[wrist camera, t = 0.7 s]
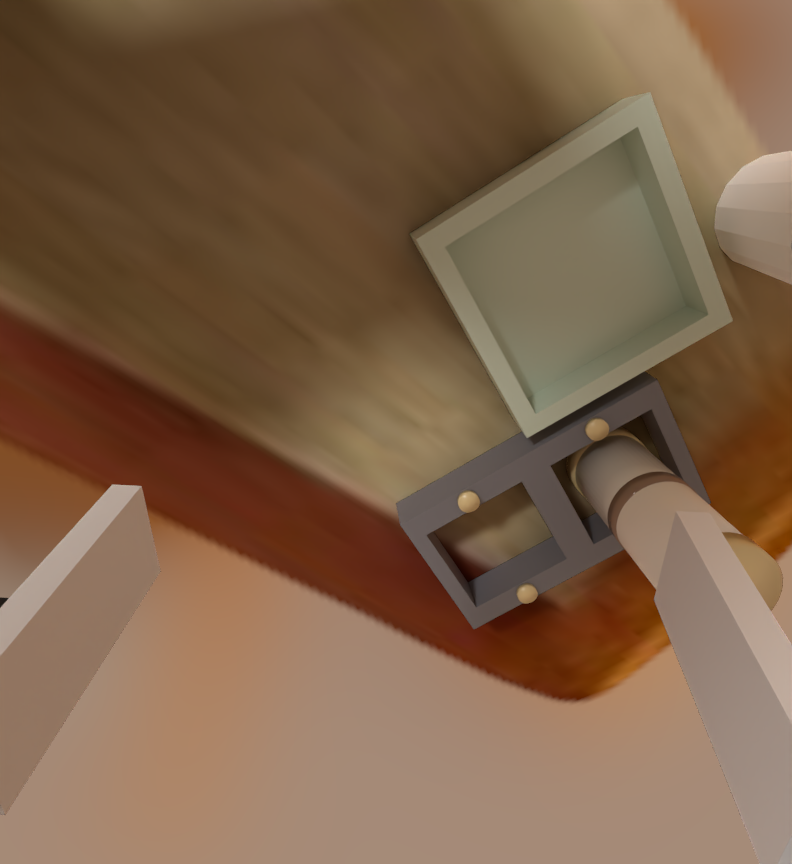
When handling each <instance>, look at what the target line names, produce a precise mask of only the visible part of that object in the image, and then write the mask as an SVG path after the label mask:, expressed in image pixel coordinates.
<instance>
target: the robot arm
mask: <svg viewBox="0 0 792 864" xmlns="http://www.w3.org/2000/svg"><path fill="white" fill-rule="evenodd" d="M159 573H160V566H159V562H158V558H157V553H156V549H155V544H154V540H153V535H152V531H151V526H150V522H149V517H148V513H147V508H146V504H145V500H144V495H143V491H142V486H130V485H112V486H111V487H110V488H109V489H108V490H107V491H106V492H105V493H104V494H103V496H102V497H101V498H100V499H99V500H98V501H97V502H96V503H95V504H94V505H93V507H92V508H91V509H90V510H89V511H88V512H87V513H86V514H85V515H84V516H83V518H82V519H81V520H80V521H79V522H78V523H77V524H76V525H75V526H74V528H72V530H71V531H70V532H69V533H68V534H67V535H66V536H65V537H64V538H63V540H62V541H61V542H60V543H59V544H58V545H57V546H56V547H55V548H54V550H53V551H52V552H51V553H50V554H49V555H48V556H47V557H46V558H45V559H44V560H43V561H42V563H41V564H40V565H39V566H38V567H37V568H36V569H35V570H34V571H33V572H32V574H31V575H30V576H29V577H28V578H27V579H26V580H25V581H24V582H23V583H22V585H21V586H20V587H19V588H18V589H17V590H16V591H15V592H14V593H13V594H12V596H11V597H10V598H0V814H1V815H6V814H7V812H8V810H9V809H10V807H11V805H12V804H13V803H14V801H15V799H16V798H17V796H18V795H19V793H20V791H21V790H22V788H23V787H24V785H25V784H26V782H27V781H28V779H29V777H30V776H31V774H32V773H33V771H34V770H35V768H36V766H37V765H38V763H39V762H40V760H41V759H42V757H43V755H44V754H45V752H46V751H47V749H48V748H49V746H50V744H51V743H52V741H53V740H54V738H55V736H56V735H57V733H58V732H59V730H60V728H61V727H62V726H63V724H64V722H65V721H66V719H67V717H68V716H69V714H70V713H71V711H72V710H73V708H74V707H75V705H76V703H77V702H78V700H79V699H80V697H81V696H82V694H83V693H84V691H85V689H86V688H87V686H88V685H89V683H90V681H91V680H92V678H93V677H94V675H95V674H96V672H97V671H98V669H99V667H100V666H101V664H102V662H103V661H104V659H105V658H106V656H107V655H108V653H109V652H110V650H111V648H112V647H113V645H114V644H115V642H116V641H117V639H118V638H119V636H120V634H121V633H122V631H123V630H124V628H125V626H126V625H127V623H128V622H129V620H130V619H131V617H132V616H133V614H134V612H135V611H136V609H137V608H138V606H139V605H140V603H141V601H142V600H143V598H144V597H145V595H146V594H147V592H148V590H149V589H150V587H151V586H152V584H153V582H154V581H155V579H156V578H157V576H158V574H159ZM654 601H655V604H656V606H657V609H658V611H659V614H660V616H661V619H662V621H663V624H664V626H665V629H666V631H667V634H668V636H669V639H670V641H671V644H672V646H673V649H674V651H675V654H676V656H677V659H678V661H679V664H680V666H681V669H682V671H683V674H684V676H685V679H686V681H687V684H688V686H689V689H690V691H691V694H692V696H693V699H694V701H695V704H696V706H697V709H698V711H699V713H700V716H701V719H702V721H703V724H704V726H705V729H706V731H707V734H708V736H709V738H710V741H711V743H712V746H713V748H714V751H715V753H716V756H717V758H718V761H719V763H720V766H721V768H722V771H723V773H724V776H725V778H726V781H727V783H728V786H729V788H730V791H731V793H732V796H733V798H734V801H735V803H736V805H737V808H738V811H739V813H740V816H741V818H742V821H743V823H744V826H745V828H746V831H747V833H748V836H749V838H750V841H751V843H752V845H753V848H754V850H755V853H756V855H757V858H758V860H759V863H760V864H792V644H791V643H790V641H789V639H788V638H787V636H786V635H785V633H784V631H783V630H782V628H781V627H780V625H779V623H778V622H777V620H776V619H775V617H774V615H773V614H772V612H771V610H770V609H769V607H768V606H767V604H766V602H765V601H764V599H763V598H762V596H761V594H760V593H759V591H758V590H757V588H756V586H755V585H754V583H753V582H752V580H751V578H750V577H749V575H748V574H747V572H746V570H745V569H744V567H743V566H742V564H741V562H740V561H739V559H738V558H737V556H736V554H735V553H734V551H733V550H732V548H731V546H730V545H729V543H728V542H727V540H726V538H725V537H724V535H723V534H722V532H721V530H720V529H719V527H718V526H717V524H716V522H715V521H714V519H713V518H712V516H711V514H710V513H706V512H685V511H676V513H675V517H674V521H673V525H672V529H671V533H670V537H669V541H668V545H667V549H666V553H665V557H664V561H663V565H662V569H661V573H660V577H659V581H658V585H657V589H656V593H655V597H654Z"/></svg>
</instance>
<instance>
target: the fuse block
mask: <svg viewBox="0 0 792 864" xmlns="http://www.w3.org/2000/svg"><path fill="white" fill-rule="evenodd" d="M640 415H641V416H642V418H643V421H644V423H645V425H646V427H647V429H648V431H649V434H650V436H651V438H652V440H653V442H654V444H655V447H656V449H657V451H658V453H659V455H660V458H661V460H662V462H663V464H664V465H665V466H666V467H667V468H669V469H670V470H671V471H672V472H673V473H674V474H675V475H677V476H678V477H680V478H681V479H682V480H684V481H685V482H686V483H687V484H688V485H689V486H690V487H691V488H692V489H694V490H695V491H696V493H697V494H698V495H699V496H700V497H701V498H702V499H703V500H704V501H706V502H707V503H708V504H710V503H711V502H710V499H709V497H708V495H707V492H706V490H705V488H704V485H703V483H702V481H701V479H700V476H699V474H698V472H697V469H696V467H695V465H694V462H693V460H692V458H691V456H690V453H689V451H688V449H687V446H686V444H685V442H684V440H683V437H682V435H681V433H680V430H679V428H678V426H677V423H676V421H675V419H674V417H673V414H672V412H671V410H670V407H669V405H668V403H667V400H666V398H665V396H664V394H663V391H662V389H661V387H660V384H659V382H658V380H657V379H655V378H654V377H652V376H651V375H649V374H648V373H646V372H645V371H644V372H642V373H641V374H639V375H637V376H635V377H634V378H632V379H630V380H628V381H627V382H625V383H623V384H621V385H620V386H618V387H616V388H614V389H613V390H611V391H609V392H607V393H606V394H604V395H602V396H600V397H599V398H597V399H595V400H593V401H591V402H590V403H588V404H586V405H584V406H583V407H581V408H579V409H577V410H576V411H574V412H572V413H570V414H569V415H567V416H565V417H563V418H562V419H560V420H558V421H556V422H555V423H553V424H551V425H549V426H548V427H546V428H544V429H542V430H541V431H539V432H537V433H535V434H534V435H532V436H530V437H528V438H526V436H525V435H524V433H523V432H520V433H519V434H517V435H515V436H513V437H512V438H510V439H508V440H506V441H505V442H503V443H501V444H499V445H498V446H496V447H494V448H492V449H491V450H489V451H487V452H485V453H484V454H482V455H480V456H478V457H477V458H475V459H473V460H471V461H470V462H468V463H466V464H464V465H463V466H461V467H459V468H457V469H456V470H454V471H452V472H450V473H449V474H447V475H445V476H443V477H442V478H440V479H438V480H436V481H435V482H433V483H431V484H429V485H428V486H426V487H424V488H422V489H421V490H419V491H417V492H415V493H414V494H412V495H410V496H408V497H407V498H405V499H403V500H401V501H400V502H398V503H396V505H397V510H398V516H399V521H400V525H401V527H402V528H403V530H404V531H405V533H406V534H407V535H408V537H409V538H410V540H411V541H412V542H413V544H414V545H415V547H416V548H417V550H418V551H419V552H420V554H421V555H422V557H423V558H424V559H425V561H426V562H427V564H428V565H429V566H430V568H431V569H432V571H433V572H434V574H435V575H436V576H437V578H438V579H439V581H440V582H441V583H442V585H443V586H444V588H445V589H446V591H447V592H448V593H449V595H450V596H451V598H452V599H453V600H454V602H455V603H456V605H457V606H458V608H459V609H460V610H461V612H462V613H463V615H464V616H465V617H466V619H467V620H468V622H469V623H470V624H471V626H472V627H473V629H476V628H478V627H479V626H481V625H483V624H485V623H487V622H489V621H491V620H493V619H494V618H496V617H498V616H500V615H502V614H504V613H506V612H508V611H509V610H511V609H513V608H515V607H517V606H519V605H521V604H523V603H525V604H528V603H531V602H533V601H535V600H536V598H537V596H538V595H540V594H541V593H543V592H545V591H547V590H549V589H551V588H553V587H555V586H556V585H558V584H560V583H562V582H564V581H566V580H568V579H570V578H571V577H573V576H575V575H577V574H579V573H581V572H583V571H585V570H586V569H588V568H590V567H592V566H594V565H596V564H598V563H600V562H601V561H603V560H605V559H607V558H609V557H611V556H613V555H615V554H617V553H618V552H620V551H622V550H624V548H623V547H622V546H621V545H620V544H619V542H618V541H617V540H616V538H615V537H614V536H613V534H612V533H611V531H610V529H609V528H608V526H607V525H606V524H605V522H604V521H603V520H602V519H601V517H600V516H599V515H598V513H595V514H593V515H591V516H589V517H588V518H586V519H584V520H582V521H581V520H580V519H579V517H578V515H577V513H576V511H575V509H574V508H573V506H572V504H571V502H570V500H569V499H568V497H567V495H566V493H565V491H564V490H563V488H562V486H561V484H560V482H559V480H558V479H557V477H556V475H555V473H554V471H553V470H552V468H551V465H553V464H554V463H556V462H558V461H560V460H561V459H563V458H565V457H567V456H569V455H570V454H572V453H574V452H576V451H577V450H579V449H581V448H583V447H585V446H586V445H588V444H590V443H592V442H594V441H599V440H602V439H604V438H605V437H606V436H607V434H608V433H610V432H611V431H613V430H615V429H617V428H619V427H620V426H622V425H624V424H626V423H627V422H629V421H631V420H633V419H635V418H636V417H638V416H640ZM520 482H522V484H523V485H524V487H525V489H526V491H527V492H528V494H529V496H530V497H531V499H532V501H533V503H534V504H535V506H536V508H537V509H538V511H539V513H540V515H541V516H542V518H543V520H544V521H545V523H546V525H547V527H548V528H549V530H550V532H551V533H552V535H553V537H551V538H549V539H547V540H545V541H543V542H542V543H540V544H538V545H536V546H534V547H532V548H531V549H529V550H527V551H525V552H523V553H521V554H520V555H518V556H516V557H514V558H512V559H510V560H509V561H507V562H505V563H503V564H501V565H499V566H497V567H496V568H494V569H492V570H490V571H488V572H486V573H485V574H483V575H481V576H479V577H477V578H475V579H474V580H472V581H470V582H467V580H466V579H465V577H464V576H463V575H462V573H461V572H460V570H459V569H458V567H457V566H456V564H455V563H454V561H453V560H452V558H451V557H450V555H449V554H448V553H447V551H446V550H445V548H444V547H443V545H442V544H441V542H440V541H439V539H438V538H437V536H436V535H435V533H434V532H433V531H435V530H436V529H438V528H440V527H442V526H444V525H445V524H447V523H449V522H451V521H453V520H454V519H456V518H458V517H460V516H461V515H463V514H465V513H470V512H473V511H475V510H476V509H477V508H478V507H479V505H481V504H483V503H485V502H486V501H488V500H490V499H492V498H494V497H495V496H497V495H499V494H501V493H503V492H504V491H506V490H508V489H510V488H511V487H513V486H515V485H517V484H519V483H520Z"/></svg>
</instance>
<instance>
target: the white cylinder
mask: <svg viewBox="0 0 792 864" xmlns="http://www.w3.org/2000/svg"><path fill="white" fill-rule="evenodd" d="M714 230H715V233H716V237H717V240H718V243H719V247H720V248H721V249H722V250H723V251H724V253H725V254H726V255H727V256H728V257H729V258H730V259H731V260H732V261H734V262H737V263H739V264H742V265H744V266H747V267H749V268H752V269H754V270H756V271H759V272H761V273H764V274H766V275H769V276H771V277H774V278H776V279H779V280H781V281H784V282H786V283H789V284H791V285H792V151H787V152H782V153H776V154H770V155H765V156H762V157H760V158H758V159H756V160H754V161H752V162H751V163H749V164H747V165H745V166H743V167H742V168H741V169H740V170H739V171H738V172H737V174H736V175H735V176H734V177H733V178H732V179H731V180H730V181H729V182H728V183H727V185H726V186H725V189H724V191H723V193H722V195H721V197H720V200H719V202H718V204H717V206H716V215H715V225H714Z"/></svg>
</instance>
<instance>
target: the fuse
mask: <svg viewBox="0 0 792 864" xmlns="http://www.w3.org/2000/svg"><path fill="white" fill-rule="evenodd" d="M567 473H568V477H569V479H570V481H571V482H572V484H573V485H574V486H575V487H576V489H577V490H578V491H579V493H580V494H581V495H582V496H583V497H585V498H586V499H587V500H588V502H589V503H590V504H591V506H592V507H593V508H594V509H595V511H596V512H597V513H598V515H599V516H600V517H601V519H602V520H603V521H604V522H605V524H606V525H607V526H608V528H609V529H610V531H611V533H612V534H613V536H614V537H615V538H616V540H617V541H618V542H619V544H620V545H621V546H622V547H623V548H624V549H625V550H626V551H627V552H628V554H629V555H630V556H631V558H632V559H633V560H634V561H635V563H636V564H637V565H638V567H639V568H640V569H641V571H642V572H643V573H644V574H645V576H646V577H647V578H648V580H649V581H650V582H651V584H652V585H653V586H654V588H655V589H657V585H658V581H659V577H660V573H661V569H662V565H663V561H664V557H665V553H666V549H667V545H668V541H669V537H670V533H671V529H672V525H673V521H674V517H675V513H676V511H685V512H706V513H710V514H711V516H712V518H713V519H714V521H715V522H716V524H717V526H718V527H719V529H720V530H721V532H722V534H723V535H724V537H725V538H726V540H727V542H728V543H729V545H730V546H731V548H732V550H733V551H734V553H735V554H736V556H737V558H738V559H739V561H740V562H741V564H742V566H743V567H744V569H745V570H746V572H747V574H748V575H749V577H750V578H751V580H752V582H753V583H754V585H755V586H756V588H757V590H758V591H759V593H760V594H761V596H762V598H763V599H764V601H765V602H766V604H767V606H768V607H769V609H770V610H772V609H773V608H774V606H775V605H776V603H777V601H778V599H779V597H780V594H781V591H782V586H783V578H782V572H781V569H780V567H779V565H778V563H777V562H776V561H775V560H774V559H773V558H772V557H771V556H770V555H769V554H768V553H766V552H765V551H764V550H763V549H762V548H761V547H760V546H759V545H757V544H756V543H755V542H754V541H753V540H752V539H750V538H748V537H746V536H744V535H742V534H741V533H740V532H739V531H738V530H737V529H736V528H735V527H734V526H732V525H731V524H730V523H729V522H728V521H727V520H726V519H725V518H723V517H722V516H721V515H720V514H719V513H718V512H717V511H716V510H714V509H713V508H712V507H711V506H710V505H709V504H708V503H707V502H706V501H704V500H703V499H702V498H701V497H700V496H699V495H698V494H697V493H696V491H695V490H694V489H692V488H691V487H690V486H689V485H688V484H687V483H686V482H685V481H684V480H682V479H681V478H680V477H678V476H677V475H675V474H674V473H673V472H672V471H671V470H670V469H669V468H667V467H666V466H665V465H664V464H663V463H662V462H661V461H660V460H658V459H657V458H656V457H655V456H654V455H653V454H652V453H651V452H649V451H648V450H647V449H646V447H645V445H644V444H643V443H642V442H641V441H640V440H639V439H638V438H636V437H635V436H634V435H633V434H632V433H631V432H630V431H628V430H626V429H624V428H622V427H619V428H617V429H615V430H613V431H611V432H610V433H608V434H607V436H606V437H605V438H604V439H602V440H599V441H594V442H592V443H590V444H588V445H586V446H585V447H583V448H581V449H579V450H577V451H576V452H574V453H572V454H570V455H569V456H568V458H567Z"/></svg>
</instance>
